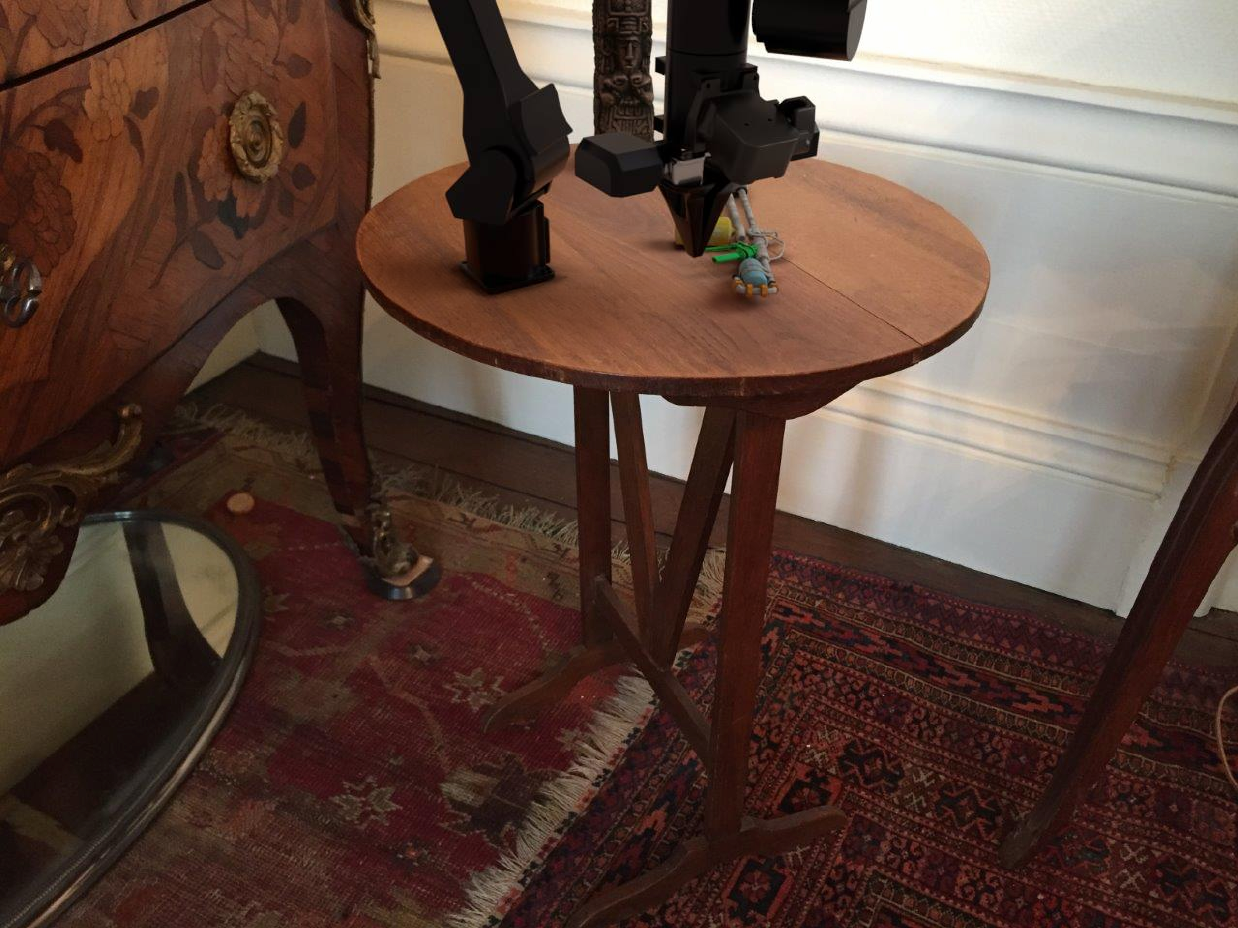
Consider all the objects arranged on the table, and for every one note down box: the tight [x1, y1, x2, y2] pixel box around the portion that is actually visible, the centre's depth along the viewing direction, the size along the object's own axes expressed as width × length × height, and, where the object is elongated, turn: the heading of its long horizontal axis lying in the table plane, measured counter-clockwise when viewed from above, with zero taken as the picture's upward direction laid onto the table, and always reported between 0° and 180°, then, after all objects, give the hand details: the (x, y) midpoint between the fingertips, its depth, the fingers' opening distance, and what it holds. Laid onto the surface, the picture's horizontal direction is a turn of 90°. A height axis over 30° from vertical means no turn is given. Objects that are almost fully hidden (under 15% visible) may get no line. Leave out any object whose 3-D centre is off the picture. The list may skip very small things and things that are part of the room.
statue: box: [591, 0, 656, 142], centre depth 102 cm, size 7×7×20 cm
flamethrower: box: [674, 185, 786, 299], centre depth 90 cm, size 29×3×10 cm
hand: (694, 255), depth 76 cm, fingers closed
